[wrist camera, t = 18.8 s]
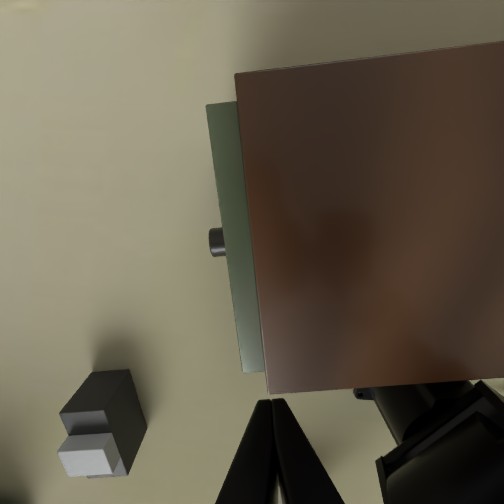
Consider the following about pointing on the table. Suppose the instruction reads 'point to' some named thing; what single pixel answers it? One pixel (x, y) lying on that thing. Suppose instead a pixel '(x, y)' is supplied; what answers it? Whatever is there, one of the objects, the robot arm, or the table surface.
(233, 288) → the drawer
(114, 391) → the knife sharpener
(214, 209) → the table surface
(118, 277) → the table surface
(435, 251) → the cabinet
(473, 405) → the robot arm
